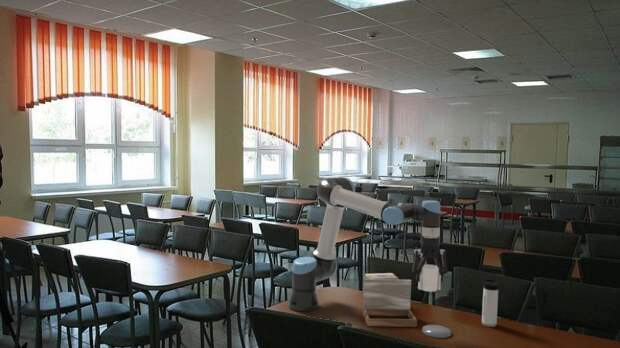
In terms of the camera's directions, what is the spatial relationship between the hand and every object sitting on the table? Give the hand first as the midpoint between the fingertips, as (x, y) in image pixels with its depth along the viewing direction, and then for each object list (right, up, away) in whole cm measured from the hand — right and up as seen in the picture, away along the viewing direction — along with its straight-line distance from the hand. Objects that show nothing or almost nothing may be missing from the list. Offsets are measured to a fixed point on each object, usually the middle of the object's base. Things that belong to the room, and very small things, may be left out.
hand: (429, 288), depth 202 cm
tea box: (-16, -16, +33) cm, 40 cm away
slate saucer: (+3, -18, -1) cm, 19 cm away
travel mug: (+30, -19, +10) cm, 36 cm away
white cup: (0, 0, 0) cm, 1 cm away
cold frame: (-15, -17, +11) cm, 26 cm away
